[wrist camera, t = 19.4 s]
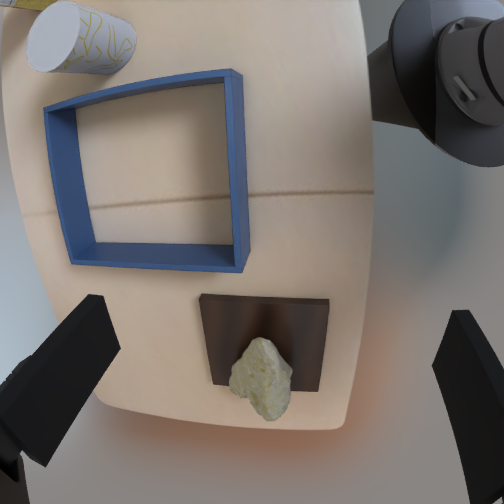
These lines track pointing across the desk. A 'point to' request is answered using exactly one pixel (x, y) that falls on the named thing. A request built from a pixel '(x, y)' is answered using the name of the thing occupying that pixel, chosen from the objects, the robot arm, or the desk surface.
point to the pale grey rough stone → (262, 379)
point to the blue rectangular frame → (145, 254)
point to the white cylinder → (79, 40)
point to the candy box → (28, 4)
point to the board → (266, 333)
